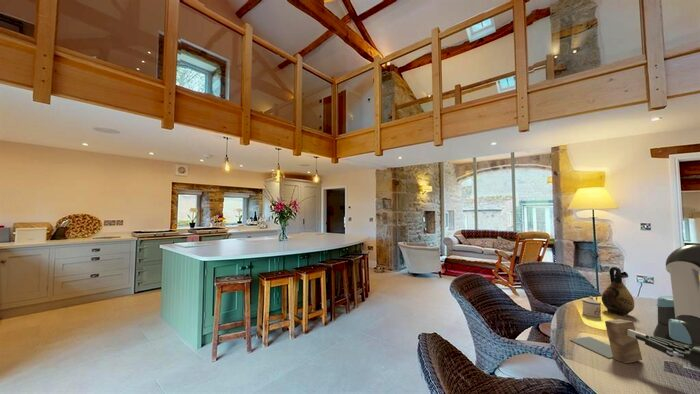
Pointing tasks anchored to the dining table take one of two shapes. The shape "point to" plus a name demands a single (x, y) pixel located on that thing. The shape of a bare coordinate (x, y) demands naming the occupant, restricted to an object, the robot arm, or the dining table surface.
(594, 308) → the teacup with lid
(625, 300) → the ceramic jug
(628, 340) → the walnut slab
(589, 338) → the slate mat
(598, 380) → the dining table surface
